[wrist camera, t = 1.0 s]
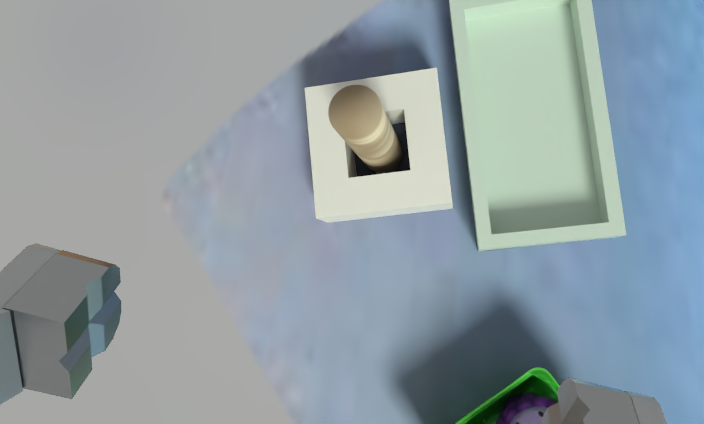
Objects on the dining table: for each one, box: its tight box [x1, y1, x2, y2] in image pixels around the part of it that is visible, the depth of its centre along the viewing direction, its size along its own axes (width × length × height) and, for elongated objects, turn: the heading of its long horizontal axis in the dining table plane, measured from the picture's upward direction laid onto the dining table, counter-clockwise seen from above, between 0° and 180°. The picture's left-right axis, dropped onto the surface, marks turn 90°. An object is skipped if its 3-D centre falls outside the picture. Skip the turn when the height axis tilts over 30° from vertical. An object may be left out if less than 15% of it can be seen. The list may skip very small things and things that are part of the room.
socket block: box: [305, 68, 453, 222], centre depth 46 cm, size 10×10×4 cm
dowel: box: [328, 85, 403, 174], centre depth 42 cm, size 3×3×13 cm
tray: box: [449, 0, 626, 251], centre depth 45 cm, size 10×19×3 cm, turn 6°
